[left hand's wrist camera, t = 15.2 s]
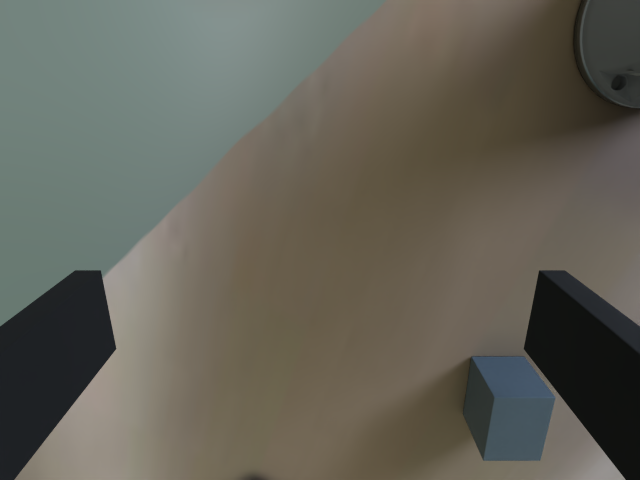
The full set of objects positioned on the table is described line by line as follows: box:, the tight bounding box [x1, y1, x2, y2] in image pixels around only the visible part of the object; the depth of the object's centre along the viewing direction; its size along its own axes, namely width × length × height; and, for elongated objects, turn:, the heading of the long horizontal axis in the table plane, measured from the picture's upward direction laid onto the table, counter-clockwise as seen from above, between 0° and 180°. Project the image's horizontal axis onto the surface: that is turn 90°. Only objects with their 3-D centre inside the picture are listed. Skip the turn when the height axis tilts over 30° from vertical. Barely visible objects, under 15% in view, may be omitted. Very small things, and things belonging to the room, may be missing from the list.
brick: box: [463, 357, 555, 461], centre depth 50 cm, size 7×9×7 cm
